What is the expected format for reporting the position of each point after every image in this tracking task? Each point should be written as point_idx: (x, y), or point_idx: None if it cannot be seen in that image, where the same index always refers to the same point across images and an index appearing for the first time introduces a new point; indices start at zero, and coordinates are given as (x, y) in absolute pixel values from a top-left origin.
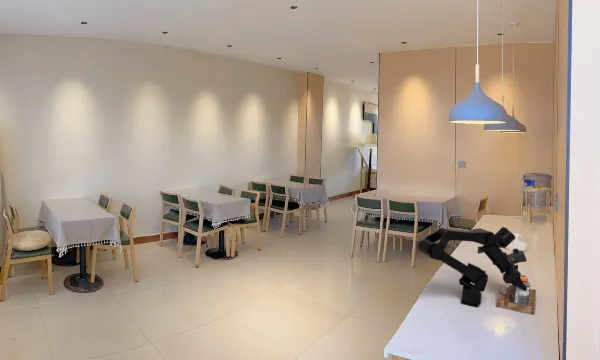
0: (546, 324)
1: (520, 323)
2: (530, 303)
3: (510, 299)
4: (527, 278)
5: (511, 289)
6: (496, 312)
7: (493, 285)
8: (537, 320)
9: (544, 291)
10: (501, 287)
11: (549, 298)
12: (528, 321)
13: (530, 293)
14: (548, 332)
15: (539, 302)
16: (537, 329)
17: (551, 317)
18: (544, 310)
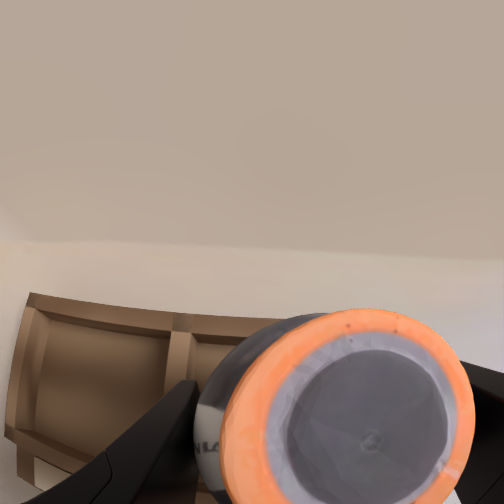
0: (441, 276)
1: (498, 371)
2: (205, 352)
3: (201, 476)
4: (400, 320)
5: (30, 430)
6: (449, 495)
7: (9, 496)
8: (430, 312)
9: (6, 261)
10: (35, 484)
11: (70, 247)
12: (465, 347)
13: (46, 330)
14: (493, 270)
15: (139, 298)
16: (500, 305)
17: (346, 253)
18: (262, 280)
